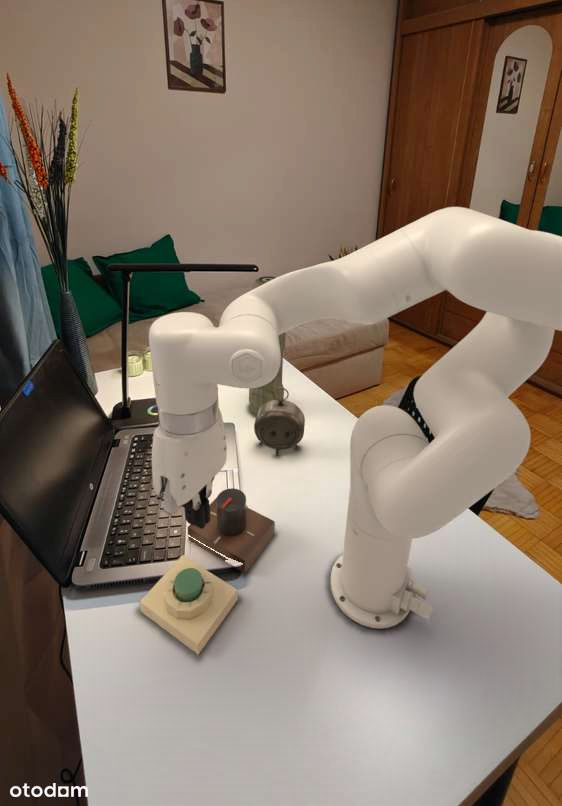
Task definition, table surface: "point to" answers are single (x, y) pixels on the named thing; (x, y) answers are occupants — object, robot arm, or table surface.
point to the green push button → (188, 585)
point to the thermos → (266, 392)
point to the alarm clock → (279, 424)
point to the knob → (231, 512)
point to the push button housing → (189, 606)
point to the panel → (235, 538)
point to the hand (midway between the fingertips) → (198, 520)
